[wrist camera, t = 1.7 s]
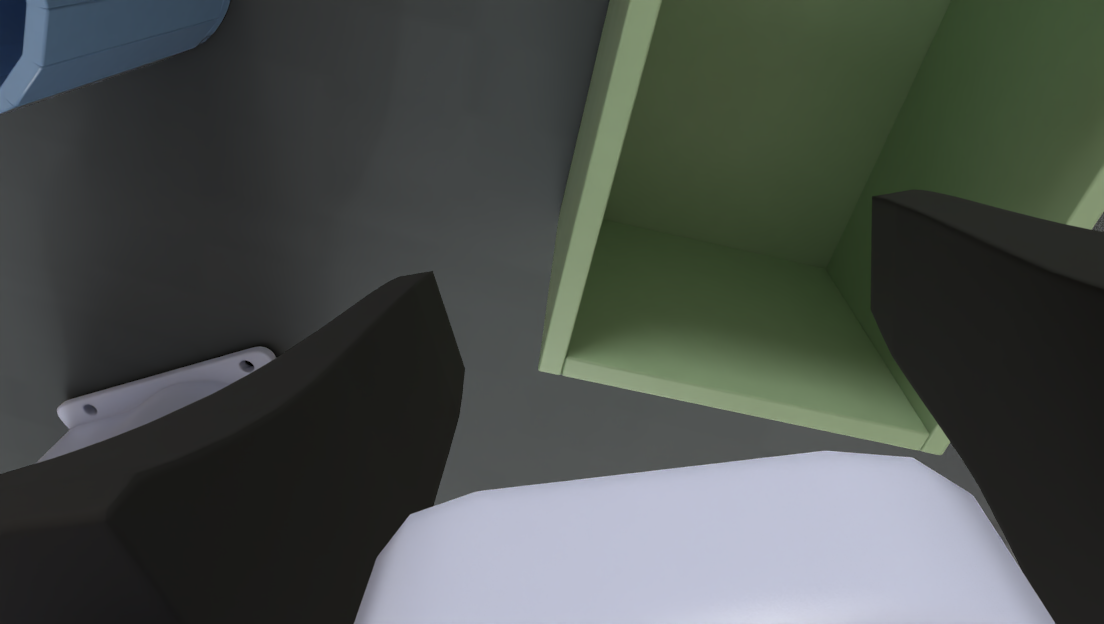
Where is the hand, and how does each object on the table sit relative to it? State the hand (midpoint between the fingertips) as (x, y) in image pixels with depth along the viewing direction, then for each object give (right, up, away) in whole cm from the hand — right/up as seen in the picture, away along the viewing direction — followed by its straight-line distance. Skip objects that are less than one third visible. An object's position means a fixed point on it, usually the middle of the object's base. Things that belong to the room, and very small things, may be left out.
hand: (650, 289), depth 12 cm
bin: (+4, +6, +8) cm, 11 cm away
